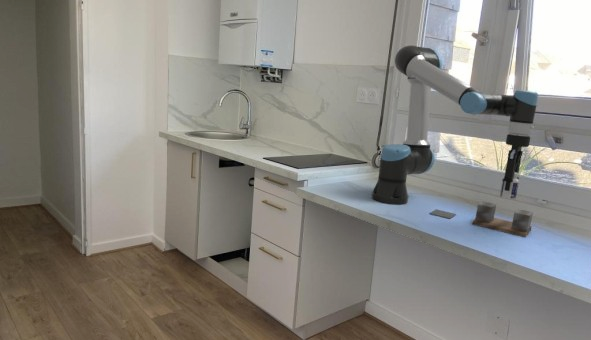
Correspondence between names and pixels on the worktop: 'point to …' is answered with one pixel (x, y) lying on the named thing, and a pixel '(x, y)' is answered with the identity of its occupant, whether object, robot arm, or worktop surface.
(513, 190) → the pill bottle
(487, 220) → the board with two blocks
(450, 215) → the pad
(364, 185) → the worktop surface
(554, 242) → the worktop surface
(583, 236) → the worktop surface
